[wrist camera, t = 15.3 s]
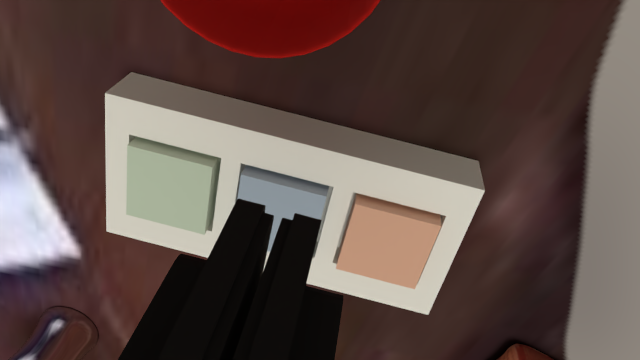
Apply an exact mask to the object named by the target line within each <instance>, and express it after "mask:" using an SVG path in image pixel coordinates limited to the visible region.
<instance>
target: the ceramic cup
mask: <svg viewBox="0 0 640 360" xmlns="http://www.w3.org/2000/svg"><path fill="white" fill-rule="evenodd" d="M161 2H162V3H163V4H164V6H165V7H166V8H167V9H168V10H169V11H170V12H171V13H173V14H174V15H175V16H176V17H177V18H178V19H179V20H180V21H181V22H182V23H183V24H184V25H185V26H187V27H188V28H190V29H191V30H193V31H194V32H196V33H197V34H199V35H200V36H201V37H203V38H204V39H206V40H207V41H210V42H212V43H214V44H216V45H219V46H221V47H223V48H225V49H227V50H230V51H233V52H237V53H241V54H245V55H249V56H253V57H263V58H285V57H292V56H299V55H305V54H308V53H311V52H313V51H316V50H319V49H322V48H324V47H327V46H329V45H331V44H333V43H334V42H336V41H338V40H339V39H341V38H343V37H344V36H346V35H348V34H349V33H351V32H352V31H353V30H354V29H355V28H356V27H357V26H358V25H359V24H360V23H362V22H363V21H364V20H365V19H366V18H367V17H368V16H369V15H370V14H371V13H372V11H373V10H374V9H375V7H376V6H377V5H378V3H379V2H380V0H161Z"/></svg>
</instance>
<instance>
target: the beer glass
mask: <svg viewBox="0 0 640 360" xmlns="http://www.w3.org/2000/svg"><path fill="white" fill-rule="evenodd" d="M97 340H98V331H97V329H96V327H95V325H94V324H93V322H92V321H91V320H90V319H89V318H88V317H86V316H85V315H83V314H82V313H80V312H78V311H76V310H74V309H71V308H67V307H52V308H49V309H48V310H46V311H45V312H44V313H43V314H42V316H41V317H40V319H39V321H38V323H37V325H36V327H35V329H34V331H33V333H32V334H31V336H30V337H29V339H28V340H27V341H26V342H25V344H24V345H23V346H22V347H21V348H20V349H19V350H18V351H17V352H16V353H15V354H14V355H12V356H11V357H10V358H9V359H8V360H82V358H83V357H84V356H85V355H86V354H87V353H88V352H89V351H90V350H91V349H92V348H93V347H94V346H95V344H96V343H97Z"/></svg>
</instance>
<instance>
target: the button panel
mask: <svg viewBox="0 0 640 360" xmlns="http://www.w3.org/2000/svg"><path fill="white" fill-rule="evenodd" d="M136 136H137V137H141V138H145V139H149V140H153V141H157V142H160V143H164V144H168V145H172V146H176V147H180V148H184V149H188V150H192V151H195V152H199V153H203V154H207V155H211V156H215V157H219V158H221V164H220V172H219V180H218V188H217V196H216V204H215V212H214V218H213V220H212V222H211V224H210V226H209V228H208V229H207V231H206V233H205V235H203V234H199V233H196V232H192V231H188V230H184V229H180V228H176V227H172V226H169V225H165V224H161V223H157V222H153V221H149V220H145V219H142V218H138V217H134V216H130V215H126V200H127V145H128V144H129V143H130V142H131V141H132V140H133V139H134V138H135V137H136ZM105 137H106V226H107V232H111V233H115V234H118V235H122V236H126V237H130V238H134V239H138V240H142V241H145V242H149V243H153V244H157V245H161V246H165V247H168V248H172V249H176V250H180V251H184V252H188V253H192V254H195V255H199V256H203V257H207V258H208V257H209V255H210V253H211V251H212V249H213V247H214V245H215V243H216V241H217V239H218V237H219V235H220V233H221V231H222V229H223V227H224V225H225V223H226V221H227V219H228V217H229V215H230V213H231V211H232V209H233V207H234V205H235V203H236V201H237V198H238V191H239V184H240V178H241V174H242V172H243V170H244V168H245V166H246V165H250V166H254V167H258V168H261V169H265V170H269V171H273V172H277V173H281V174H285V175H289V176H293V177H296V178H300V179H304V180H308V181H312V182H316V183H320V184H324V185H328V186H329V189H328V193H327V197H326V201H325V205H324V209H323V212H322V216H321V225H320V229H319V233H318V237H317V241H316V245H315V249H314V254H313V258H312V262H311V266H310V270H309V274H308V278H307V284H311V285H315V286H319V287H323V288H326V289H330V290H334V291H338V292H342V293H346V294H350V295H353V296H357V297H361V298H365V299H369V300H373V301H377V302H380V303H384V304H388V305H392V306H396V307H400V308H404V309H407V310H411V311H415V312H419V313H423V314H427V315H428V314H429V312H430V309H431V307H432V305H433V303H434V301H435V299H436V296H437V294H438V292H439V290H440V288H441V285H442V283H443V281H444V279H445V277H446V274H447V272H448V270H449V268H450V266H451V264H452V261H453V259H454V257H455V255H456V253H457V250H458V248H459V246H460V244H461V242H462V239H463V237H464V235H465V233H466V231H467V228H468V226H469V224H470V222H471V220H472V218H473V215H474V213H475V211H476V209H477V207H478V204H479V202H480V200H481V198H482V196H483V193H484V191H485V189H484V184H483V180H482V175H481V170H480V166H479V161H477V160H473V159H469V158H465V157H461V156H457V155H453V154H449V153H446V152H442V151H438V150H434V149H430V148H426V147H422V146H418V145H414V144H410V143H406V142H403V141H399V140H395V139H391V138H387V137H383V136H379V135H375V134H371V133H367V132H364V131H360V130H356V129H352V128H348V127H344V126H340V125H336V124H332V123H328V122H324V121H321V120H317V119H313V118H309V117H305V116H301V115H297V114H293V113H289V112H285V111H281V110H278V109H274V108H270V107H266V106H262V105H258V104H254V103H250V102H246V101H242V100H239V99H235V98H231V97H227V96H223V95H219V94H215V93H211V92H207V91H203V90H199V89H196V88H192V87H188V86H184V85H180V84H176V83H172V82H168V81H164V80H160V79H157V78H153V77H149V76H145V75H141V74H137V73H133V72H131V73H130V74H128V75H127V76H126V77H125V78H123V79H122V80H121V81H120V82H118V83H117V84H116V85H114V86H113V87H112V88H111V89H109V90H108V91H107V92H106V93H105ZM356 193H359V194H363V195H366V196H370V197H374V198H378V199H382V200H386V201H390V202H394V203H397V204H401V205H405V206H409V207H413V208H417V209H421V210H425V211H429V212H432V213H436V214H440V216H441V228H440V231H439V233H438V235H437V238H436V240H435V242H434V245H433V247H432V250H431V252H430V254H429V257H428V259H427V261H426V264H425V266H424V268H423V271H422V273H421V276H420V278H419V280H418V283H417V285H416V287H415V289H412V288H408V287H404V286H400V285H396V284H392V283H389V282H385V281H381V280H377V279H373V278H369V277H365V276H362V275H358V274H354V273H350V272H346V271H342V270H338V269H336V264H337V259H338V253H339V248H340V244H341V241H342V238H343V234H344V231H345V228H346V224H347V221H348V218H349V214H350V211H351V208H352V204H353V201H354V197H355V194H356ZM269 254H270V252H269V251H267V255H266V260H265V265H266V262H267V260H268V257H269ZM265 265H264V268H265ZM263 271H264V269H263Z"/></svg>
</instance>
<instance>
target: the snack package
mask: <svg viewBox="0 0 640 360" xmlns="http://www.w3.org/2000/svg"><path fill="white" fill-rule="evenodd" d="M497 360H553V359H552V358H550V357H549V356H547V355H545V354H543V353H541V352H539V351H537V350H535V349H533V348H531V347H529V346H526V345H522V344H514V345H512V346H511V347H509V348H508V349H507V351H506V352H505V353H504V354H503V355H502V356H501V357H499V358H498V359H497Z"/></svg>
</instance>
